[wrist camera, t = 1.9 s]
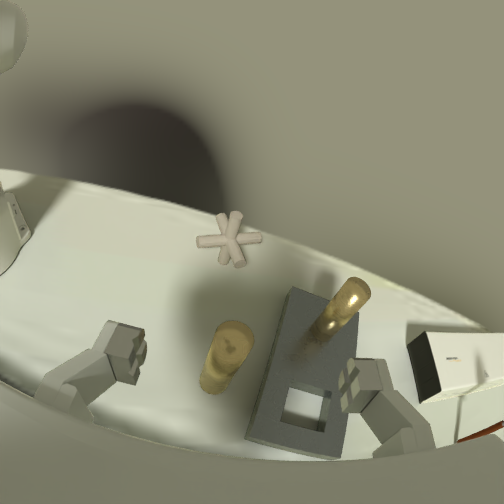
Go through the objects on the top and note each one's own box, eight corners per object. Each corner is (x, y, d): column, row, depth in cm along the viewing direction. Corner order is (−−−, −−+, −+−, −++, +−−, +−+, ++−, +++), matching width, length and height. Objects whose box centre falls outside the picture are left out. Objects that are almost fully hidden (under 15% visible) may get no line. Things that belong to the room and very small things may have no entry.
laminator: (415, 404, 39) (441, 391, 35) (402, 342, 48) (423, 324, 44) (505, 384, 46) (523, 372, 41) (492, 341, 54) (508, 328, 50)
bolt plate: (330, 460, 31) (393, 443, 22) (244, 439, 31) (281, 419, 22) (351, 320, 48) (395, 271, 39) (286, 295, 48) (320, 239, 39)
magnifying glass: (460, 464, 31) (555, 423, 17) (454, 466, 31) (551, 426, 17) (454, 422, 37) (543, 371, 23) (449, 423, 37) (539, 373, 23)
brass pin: (193, 376, 35) (207, 331, 26) (216, 364, 37) (238, 314, 28) (210, 399, 34) (230, 362, 25) (232, 385, 36) (262, 343, 27)
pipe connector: (241, 237, 55) (256, 193, 48) (261, 281, 49) (281, 237, 42) (187, 241, 51) (195, 194, 44) (201, 289, 45) (211, 243, 38)
